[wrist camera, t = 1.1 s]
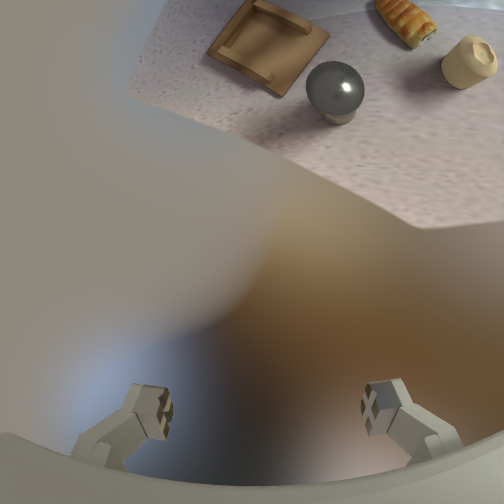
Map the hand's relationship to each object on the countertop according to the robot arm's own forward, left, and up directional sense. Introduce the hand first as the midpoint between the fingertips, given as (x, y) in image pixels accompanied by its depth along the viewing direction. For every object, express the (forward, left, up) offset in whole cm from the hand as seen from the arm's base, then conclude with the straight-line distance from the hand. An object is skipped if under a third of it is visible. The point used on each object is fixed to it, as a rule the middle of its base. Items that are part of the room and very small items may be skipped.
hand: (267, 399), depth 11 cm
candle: (-26, +16, -34) cm, 46 cm away
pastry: (-32, +8, -34) cm, 48 cm away
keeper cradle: (-25, -12, -34) cm, 44 cm away
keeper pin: (-16, -1, -34) cm, 37 cm away
